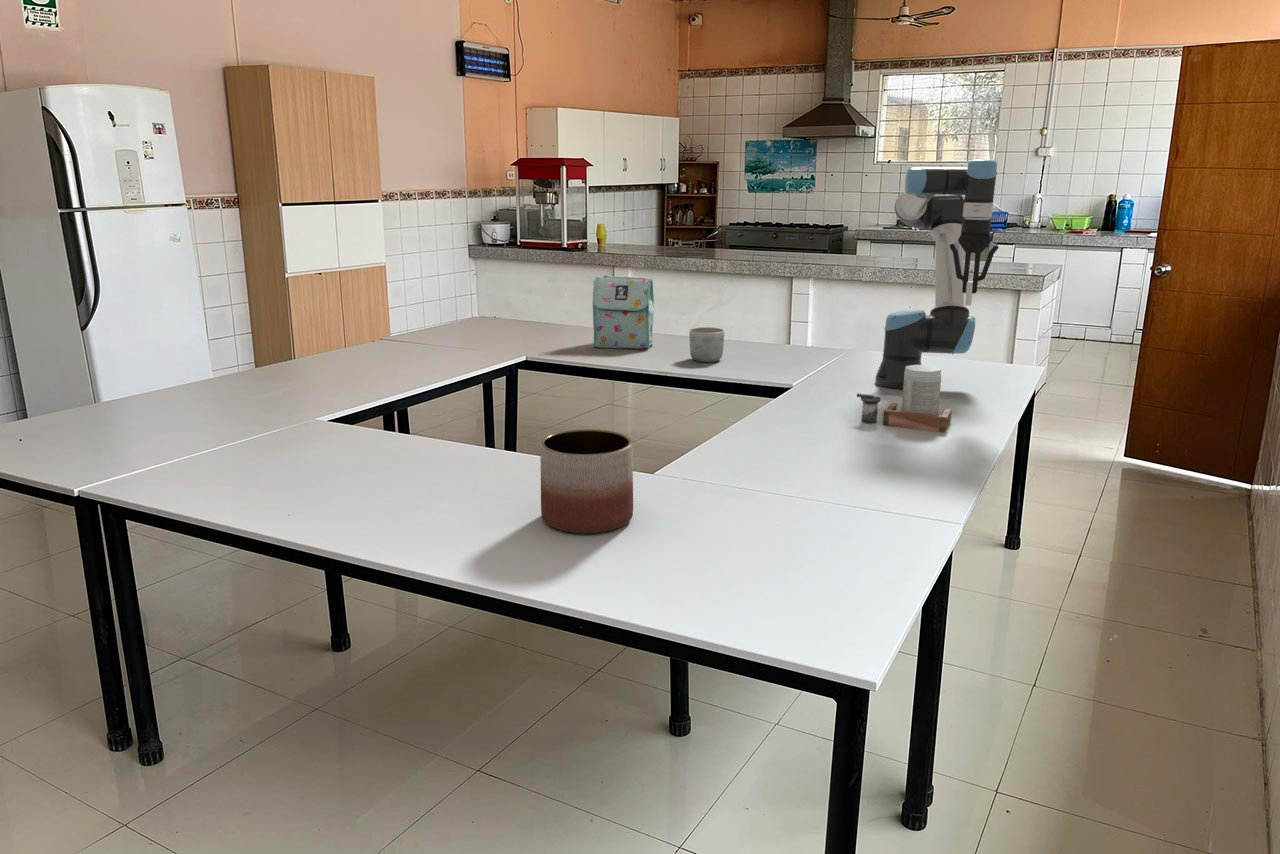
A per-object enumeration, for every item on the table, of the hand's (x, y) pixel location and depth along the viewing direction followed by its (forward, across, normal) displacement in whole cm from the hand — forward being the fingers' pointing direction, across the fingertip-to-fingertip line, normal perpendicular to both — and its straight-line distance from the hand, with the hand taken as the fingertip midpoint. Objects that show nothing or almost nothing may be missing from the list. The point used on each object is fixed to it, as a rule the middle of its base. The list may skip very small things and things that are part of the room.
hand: (968, 304), depth 256 cm
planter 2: (+30, -89, +31) cm, 99 cm away
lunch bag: (+30, -127, +42) cm, 137 cm away
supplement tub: (+30, -8, -21) cm, 37 cm away
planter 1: (+30, -55, -124) cm, 139 cm away
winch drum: (+29, -20, -28) cm, 45 cm away
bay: (+29, -8, -24) cm, 39 cm away
